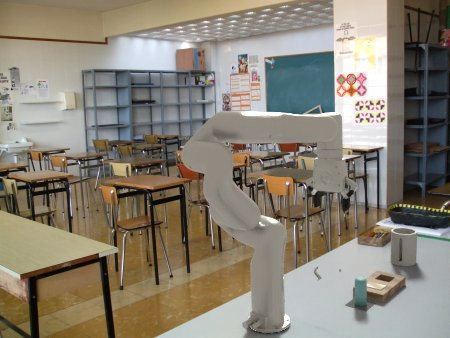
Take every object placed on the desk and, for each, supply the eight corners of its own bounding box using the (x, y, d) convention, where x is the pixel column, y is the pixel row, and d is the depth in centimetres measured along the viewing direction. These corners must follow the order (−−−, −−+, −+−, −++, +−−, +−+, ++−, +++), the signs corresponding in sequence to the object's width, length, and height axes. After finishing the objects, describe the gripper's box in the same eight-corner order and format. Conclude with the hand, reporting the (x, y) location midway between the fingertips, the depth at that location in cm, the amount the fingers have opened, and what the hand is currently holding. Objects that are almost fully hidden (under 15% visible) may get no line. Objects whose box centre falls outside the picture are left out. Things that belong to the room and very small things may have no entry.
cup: (412, 257, 194) (413, 227, 192) (419, 266, 185) (420, 234, 183) (388, 257, 195) (388, 227, 193) (393, 266, 186) (394, 234, 184)
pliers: (340, 266, 186) (344, 288, 167) (340, 268, 186) (344, 290, 167) (313, 266, 188) (314, 287, 168) (313, 268, 188) (314, 290, 168)
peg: (363, 307, 152) (363, 282, 151) (352, 304, 154) (352, 279, 153) (368, 303, 155) (368, 278, 153) (357, 300, 157) (357, 276, 156)
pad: (366, 313, 150) (366, 311, 150) (344, 307, 154) (344, 305, 154) (376, 304, 155) (376, 302, 155) (355, 299, 159) (355, 297, 159)
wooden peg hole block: (382, 304, 155) (383, 294, 155) (353, 296, 162) (353, 286, 161) (405, 285, 168) (405, 276, 168) (377, 278, 175) (377, 269, 174)
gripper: (298, 154, 155) (300, 208, 158) (351, 157, 144) (352, 215, 147) (310, 150, 160) (312, 202, 164) (362, 153, 150) (363, 208, 153)
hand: (331, 208), depth 155 cm, fingers open, 9 cm apart
